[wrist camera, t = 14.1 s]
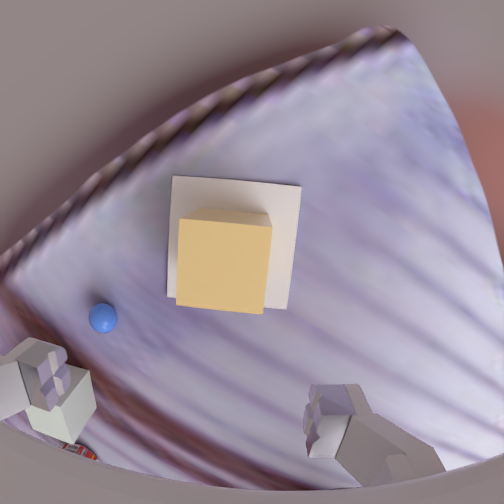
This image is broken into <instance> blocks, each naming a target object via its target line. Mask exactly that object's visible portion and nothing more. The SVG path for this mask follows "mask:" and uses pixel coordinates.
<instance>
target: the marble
mask: <svg viewBox="0 0 504 504" xmlns="http://www.w3.org/2000/svg"><path fill="white" fill-rule="evenodd" d="M89 322H90V325H91V326H92V328H93V329H94V330H95V331H97V332H100V333H108V332H110V331H112V330H113V329H114V328H115V326H116V324H117V314H116V312H115V310H114V309H113V308H112V307H111V306H110V305H108V304H105V303H100V304H97V305H95V306H94V307H93V308H92V309H91V310H90V313H89Z"/></svg>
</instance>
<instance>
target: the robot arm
mask: <svg viewBox="0 0 504 504" xmlns="http://www.w3.org/2000/svg"><path fill="white" fill-rule="evenodd" d="M67 359H68V358H67V354H66V350H65V349H64V348H63V347H61V346H57V345H54V344H51V343H48V342H45V341H41V340H38V339H35V338H27V339H25V340H24V341H23V342H21V343H20V344H19V345H18V346H16V347H15V348H14V349H12V350H11V351H10V352H9V353H7V354H6V355H5V356H3V355H0V504H504V453H503V454H500V455H497V456H495V457H492V458H489V459H486V460H483V461H480V462H477V463H474V464H471V465H467V466H464V467H461V468H457V469H454V470H450V471H446V470H445V468H444V466H443V464H442V463H441V461H440V459H439V457H438V455H437V454H436V452H435V450H434V448H433V447H431V446H430V445H428V444H426V443H424V442H423V441H421V440H419V439H418V438H416V437H414V436H412V435H411V434H409V433H407V432H406V431H404V430H402V429H401V428H399V427H397V426H396V425H394V424H393V423H391V422H389V421H388V420H386V419H384V418H383V417H381V416H380V415H378V414H373V413H372V410H371V408H370V406H369V404H368V402H367V400H366V397H365V395H364V393H363V391H362V389H361V387H360V385H359V384H343V385H315V384H312V385H311V387H310V391H309V400H310V402H309V403H308V404H307V405H306V407H305V411H304V419H303V428H304V433H305V434H306V435H307V436H308V437H307V440H306V447H307V453H308V458H335V459H336V460H337V461H338V462H339V463H340V464H341V465H342V466H343V467H344V468H345V469H346V470H347V471H348V472H349V473H350V474H351V475H352V476H353V477H354V478H355V479H356V480H357V481H358V482H359V483H360V484H361V485H362V486H363V487H358V488H347V489H334V490H315V491H266V490H248V489H235V488H225V487H216V486H208V485H201V484H194V483H188V482H182V481H176V480H171V479H166V478H161V477H156V476H151V475H147V474H143V473H138V472H134V471H130V470H127V469H123V468H119V467H116V466H112V465H109V464H105V463H102V462H99V461H96V460H93V459H90V458H87V457H84V456H81V455H78V454H75V453H72V452H70V451H67V450H64V449H62V448H59V447H57V446H54V445H52V444H49V443H47V442H45V441H42V440H40V439H38V438H35V437H33V436H31V435H29V434H27V433H24V432H22V431H20V430H18V429H16V428H14V427H12V426H10V425H8V424H6V423H4V422H2V421H1V420H3V419H6V418H8V417H10V416H12V415H14V414H16V413H18V412H20V411H22V410H24V409H26V408H29V407H31V405H32V406H34V407H37V408H40V409H43V410H45V411H48V412H50V411H51V410H52V409H53V408H54V407H55V405H56V404H57V403H58V402H59V399H58V396H61V395H63V394H65V393H66V392H67V390H68V389H69V386H70V383H71V374H70V369H69V368H68V366H67V365H66V364H65V362H66V360H67Z"/></svg>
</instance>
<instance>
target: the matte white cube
mask: <svg viewBox="0 0 504 504" xmlns="http://www.w3.org/2000/svg"><path fill="white" fill-rule="evenodd" d="M66 365H67V366H68V368H69V369H70V374H71V383H70V386H69V389H68V390H67V392H66V393H65V394H63V395H61V396H58V399H59V402H58V403H57V404H56V405H55V407H54V408H53V409H52V410H51V411H50V412H48V411H45V410H43V409H40V408H37V407H34V406H32V405H31V407H29V408H26V409H25V411H26V413H27V416H28V418H29V421H30V423H31V426H32V428H33V429H34V430H36V431H39V432H41V433H43V434H46V435H48V436H51V437H53V438H56V439H59V440H61V441H64V442H67V443H69V444H72V445H74V443H75V441H76V440H77V438H78V436H79V435H80V433H81V432H82V430H83V428H84V427H85V425H86V424H87V422H88V420H89V419H90V417H91V416H92V414H93V412H94V411H95V409H96V408H97V406H96V402H95V397H94V392H93V387H92V382H91V377H90V372H89V370H86V369H82V368H79V367H75V366H71V365H68V364H66Z"/></svg>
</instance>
